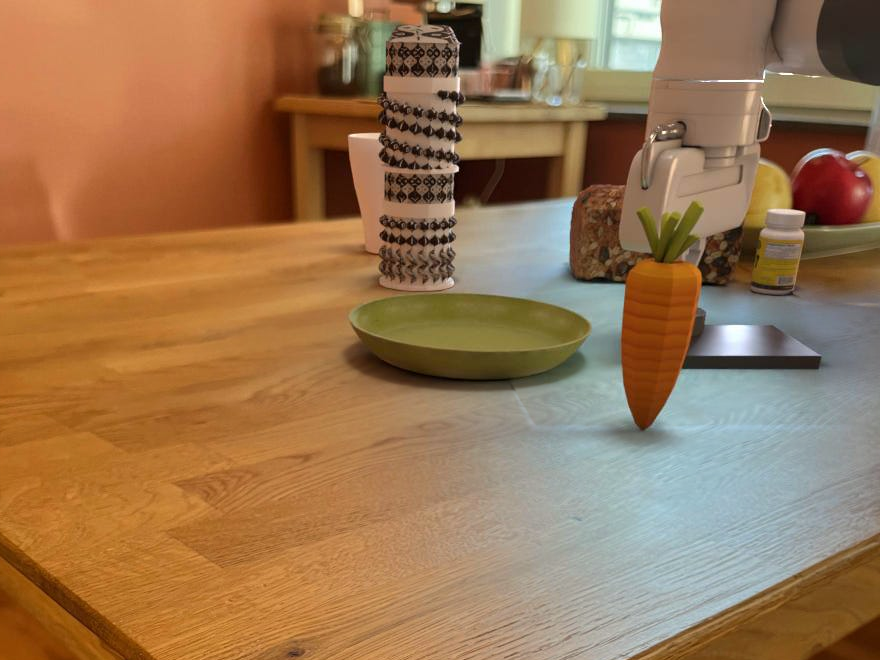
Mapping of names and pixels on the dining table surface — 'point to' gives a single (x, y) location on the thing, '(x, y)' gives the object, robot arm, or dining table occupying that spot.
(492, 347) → the saucer
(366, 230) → the cup
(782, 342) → the scale
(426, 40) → the decorative candle
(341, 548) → the dining table surface
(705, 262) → the bread
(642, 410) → the carrot
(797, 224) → the supplement bottle
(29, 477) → the dining table surface
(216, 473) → the dining table surface
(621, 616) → the dining table surface
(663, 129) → the robot arm
